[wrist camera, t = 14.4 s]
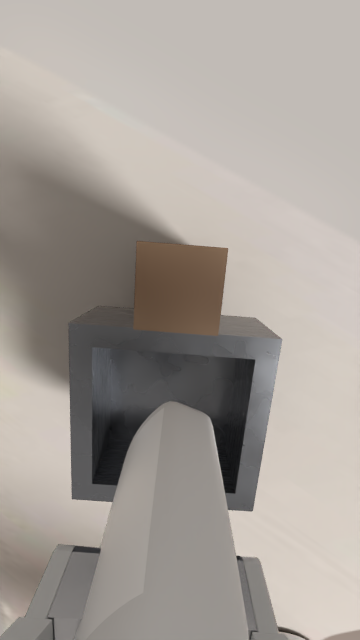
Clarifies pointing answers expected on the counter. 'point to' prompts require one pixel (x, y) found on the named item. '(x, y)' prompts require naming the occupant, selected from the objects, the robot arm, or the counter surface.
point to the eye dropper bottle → (168, 541)
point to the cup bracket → (170, 371)
